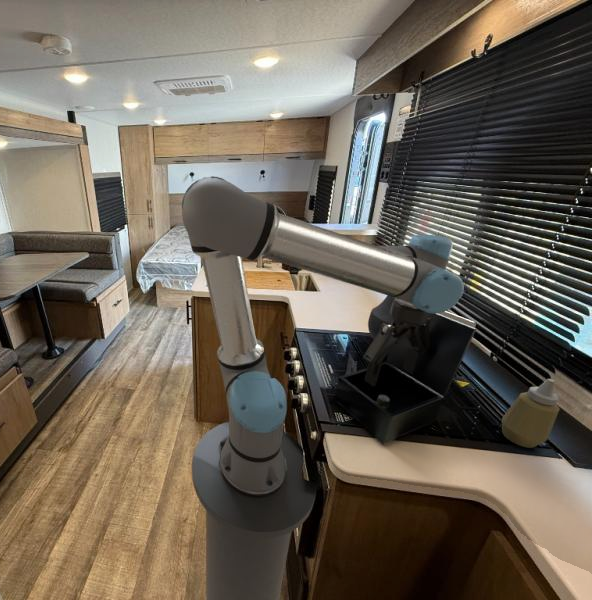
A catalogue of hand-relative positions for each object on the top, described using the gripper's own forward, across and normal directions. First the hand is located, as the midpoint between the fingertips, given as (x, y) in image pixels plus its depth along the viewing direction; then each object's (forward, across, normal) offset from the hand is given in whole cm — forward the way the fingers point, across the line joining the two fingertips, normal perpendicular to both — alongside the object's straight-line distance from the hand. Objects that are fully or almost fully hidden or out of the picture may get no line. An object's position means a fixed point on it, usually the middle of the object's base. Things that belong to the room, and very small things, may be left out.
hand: (389, 376), depth 80 cm
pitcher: (+12, +29, +20) cm, 38 cm away
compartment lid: (-7, +10, 0) cm, 12 cm away
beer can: (+12, 0, 0) cm, 12 cm away
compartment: (+12, +1, 0) cm, 12 cm away
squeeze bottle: (+12, +24, -19) cm, 33 cm away
